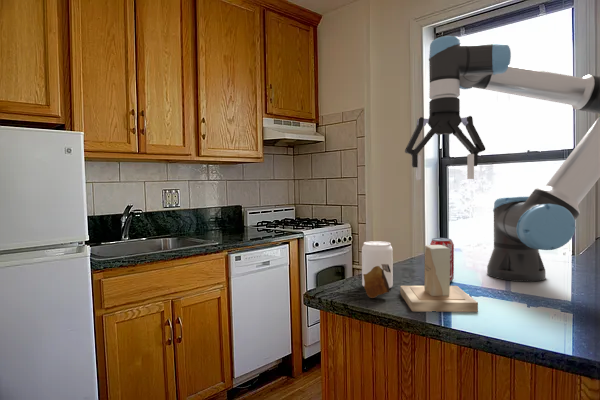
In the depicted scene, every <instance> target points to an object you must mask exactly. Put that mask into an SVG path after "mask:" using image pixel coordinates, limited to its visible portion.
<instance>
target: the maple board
mask: <svg viewBox="0 0 600 400" xmlns="http://www.w3.org/2000/svg"><path fill="white" fill-rule="evenodd" d="M399 287H400V291H399V292H400V293H399V294H400V295H401V298H403V300H404V301H405V303H406V304H407V306H408V308H409V309H410V311H411V312H432V311H436V312H440V313H441V312H446V313H448V312H450V313H451V312H455V313H456V312H457V313H458V312H459V313H460V312H465V313H468V312H471V313H472V312H474V313H475V312H479V302H478V301H477V300H476V299H474V298H473V297H472V296H470V295H469V294H468V293H466V292H465V291H464V290H463V289H462V288H460V287H459V286H458V285H450V294H449V296H431V295H430V294H429V293H427V292H426V291H425V290H424V285H400V286H399Z"/></svg>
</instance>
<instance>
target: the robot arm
mask: <svg viewBox="0 0 600 400" xmlns="http://www.w3.org/2000/svg"><path fill="white" fill-rule="evenodd" d="M428 55H429V57H428V62H429V63H428V64H429V65H428V70H429V74H428V75H429V93H428V95H429V96H428V97H429V99H430V100H429V104H428V105H429V109H428V110H429V111H428V113H429V117H428V118H424V117H422V116H421V117H418V119H417V120H416V127H415V129H414V131H413V133H412V136H411V137H410V139H409V141H408V143H407V145H406V147H405V149H404V153H405V154H408V155H410V156H411V167H412V168H415V181H420V180H422V155H421V154H419V153H420V152H421V150H423V148H424V147H425V146H426V145H427V143H428V142H429V141H430V140H431V139H432V137H434V136H435V135H437V136H441V135H446V136H447V135H451V134H452V135H453V136H455V137H456V139H457V140H458V141H459V142H460V143H461V144H462V145H463V146H464V147H465V149H466V150H467V151H468V152H469V154H467V160H466V161H467V166H466V167H467V171H466V172H467V174H466V176H467V178H466V179H467V180H475V167H478V163H479V162H478V160H479V158H478V157H479V153H481V152H485V151H486V146H485V145H484V143H483V141H482V139H481V137H480V135H479V132H478V131H477V129H476V127H475V126H474V118H473V116H472V115H469V116H466V117H461V115H460V113H461V112H460V108H461V106H460V104H461V103H460V102H461V101H460V98H459V97H460V93H461V91H460V89H461V90H468V89H472V88H474V89H475V88H476V89H480V90H487V91H491V92H497V93H504V94H510V95H515V96H521V97H526V98H533V99H536V100H544V101H547V102H553V103H559V104H564V105H570V106H571V107H572V108H573V109H574V110H576V111H577V110H578V111H582V112H588V113H593V114H598V115H599V116H598V117H597V118H596V120H595V121H594V123H593V124H592V125H591V127H590V128H589V129H588V130H587V132H586V133H585V134H584V135H583V137H582V138H581V140H580V141H579V142H578V143H577V145H576V146H575V148H573V150H572V151H571V152H570V154H569V155H568V157H567V158H566V159H565V160H564V161H563V163H562V164H561V165H560V167H559V168H558V169H557V171H556V172H555V173H554V174H553V176H552V177H551V179H549V181H548V182H547V184H546V185H544V187H537V188H535V189H534V190H533V191H532V193H530V195H528V196H510V197H508V196H507V197H500V198H497V199H495V201H494V204H493V210H492V211H493V250H492V252H491V255H490V258H489V260H488V264H487V266H486V268H487V269H486V273H487V275H488V276H490V277H493V278H496V279H500V280H505V281H506V280H507V281H513V282H514V281H515V282H540V281H544V280H545V279H546V274H547V273H546V268H545V266H544V263H543V262H544V261H543V260H542V256H541V254H540V250H542V251H552V250H553V251H554V250H557V249H560V248H561V247H564V246H565V245H567V244H569V242H570V241H571V240H572V238H573V236H574V235H575V232H576V219H577V218H578V217H579V216H580V214H581V212H580V207H579V205H580V203H581V202H582V200H583V199H585V197H586V196H587V195H588V193H589V192H590V190H591V189H592V188H593V187H594V185H596V182H597V181H598V180H599V179H600V75H592V74H587V75H585V76H583V77H580V76H574V75H568V74H562V73H556V72H550V71H545V70H540V69H533V68H526V67H521V66H516V65H510V64H511V57H512V53H511V48H510V46H509V44H507V43H498V42H497V43H495V42H493V43H483V44H461V41H460V37H458V36H455V35H454V36H452V35H445V36H439V37H437V38H435V39H434V40H432V41H431V42H430V44H429V54H428ZM426 124H427V125H428V126H429V128H430V130H429V131H428V132H427V133H426V134H425V136H424V137H423V138H422V140H421V141H419V142H418V144H417V145H416V146H415V144H416V142H417V140H418V138H419V137H420V133H421V132H422V130H423V128H424V127H425V126H426ZM460 124H462V125H463V126H464V127H465V129H466V131H467V134H468V135H469V136H470V139H471V140H470V139H469V138H468V137H467V136H466V134H464V132H463V130H462V129H461V128H460V127H459V125H460ZM414 146H415V148H414ZM413 148H414V149H413Z"/></svg>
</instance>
